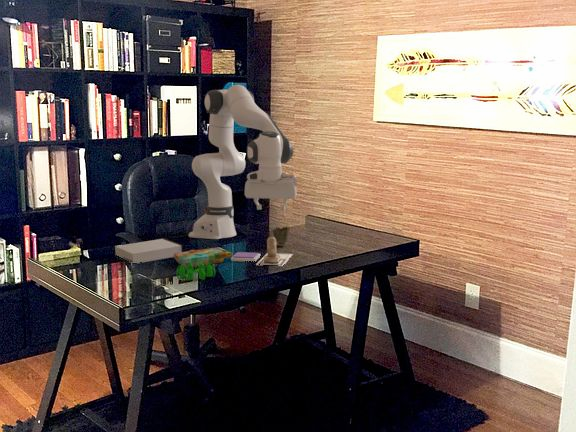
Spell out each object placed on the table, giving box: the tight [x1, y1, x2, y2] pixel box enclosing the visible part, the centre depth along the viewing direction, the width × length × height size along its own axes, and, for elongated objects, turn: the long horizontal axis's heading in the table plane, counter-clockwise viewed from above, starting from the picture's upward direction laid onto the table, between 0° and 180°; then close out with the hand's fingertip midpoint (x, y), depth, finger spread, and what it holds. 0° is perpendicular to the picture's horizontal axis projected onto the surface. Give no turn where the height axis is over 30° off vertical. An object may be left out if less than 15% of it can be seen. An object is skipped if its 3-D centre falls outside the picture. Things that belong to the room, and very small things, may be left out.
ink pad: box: [230, 251, 262, 263], centre depth 265 cm, size 10×9×2 cm
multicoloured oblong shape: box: [173, 246, 233, 268], centre depth 261 cm, size 12×5×20 cm
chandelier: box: [176, 258, 216, 282], centre depth 240 cm, size 15×15×7 cm
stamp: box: [263, 236, 280, 264], centre depth 258 cm, size 6×4×10 cm
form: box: [255, 253, 294, 267], centre depth 263 cm, size 11×19×1 cm, turn 168°
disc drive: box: [114, 237, 184, 264], centre depth 273 cm, size 18×22×5 cm
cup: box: [272, 226, 290, 248], centre depth 286 cm, size 8×7×8 cm
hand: (271, 209), depth 255 cm, fingers open, 8 cm apart
